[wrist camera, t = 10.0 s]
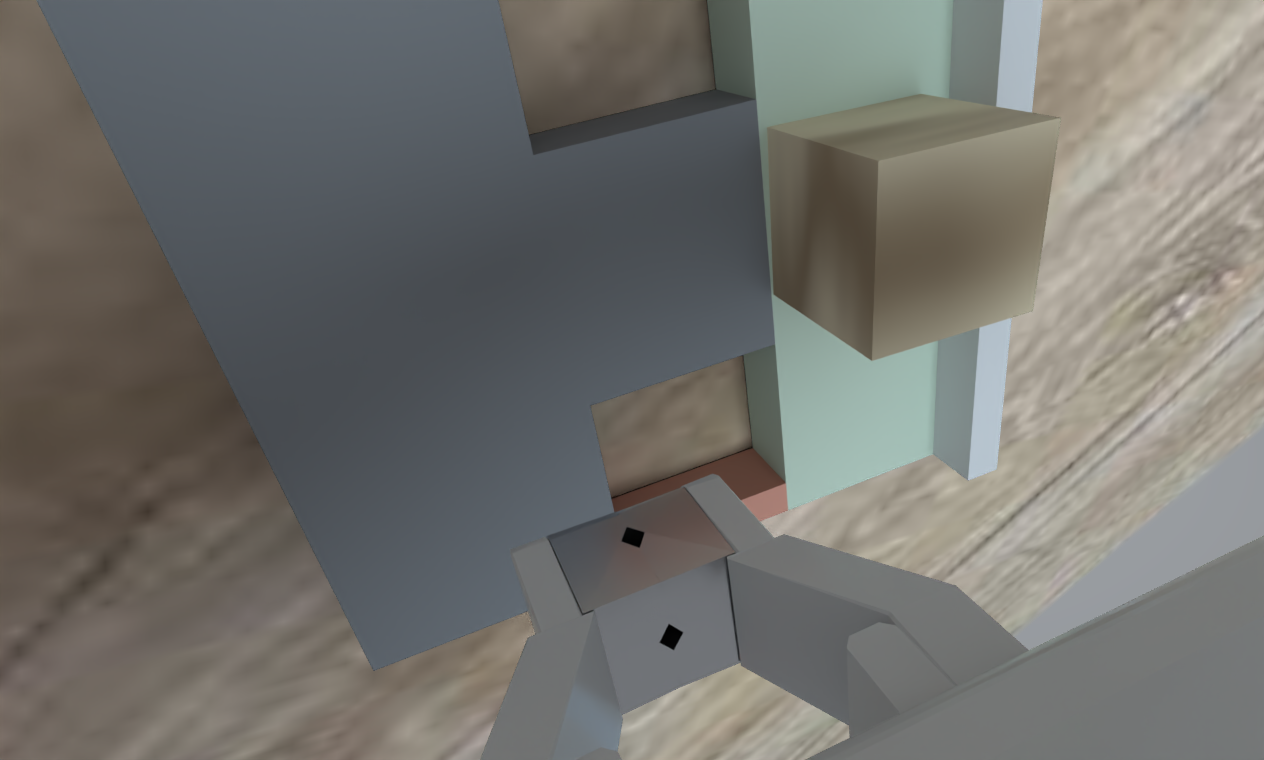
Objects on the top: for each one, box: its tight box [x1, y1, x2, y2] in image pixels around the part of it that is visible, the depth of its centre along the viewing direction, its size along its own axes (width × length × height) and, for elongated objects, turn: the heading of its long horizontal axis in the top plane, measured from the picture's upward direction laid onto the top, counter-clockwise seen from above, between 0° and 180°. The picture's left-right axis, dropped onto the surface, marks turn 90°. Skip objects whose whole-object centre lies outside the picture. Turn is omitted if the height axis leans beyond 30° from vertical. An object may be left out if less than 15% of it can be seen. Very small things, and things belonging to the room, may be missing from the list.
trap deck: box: [37, 0, 1043, 671], centre depth 17 cm, size 17×18×4 cm
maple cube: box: [767, 94, 1061, 361], centre depth 16 cm, size 4×4×4 cm
